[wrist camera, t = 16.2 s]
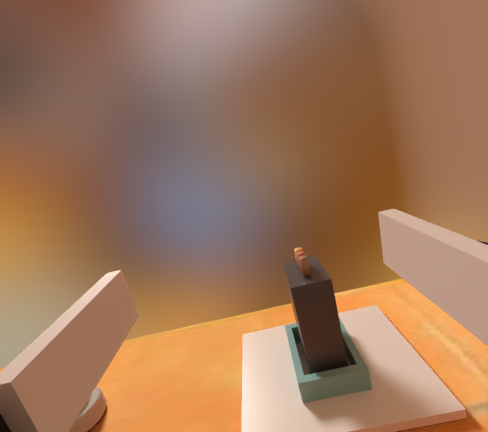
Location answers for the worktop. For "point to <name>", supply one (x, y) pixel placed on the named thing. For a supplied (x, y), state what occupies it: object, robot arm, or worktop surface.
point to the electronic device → (90, 412)
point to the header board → (342, 382)
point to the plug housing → (315, 313)
